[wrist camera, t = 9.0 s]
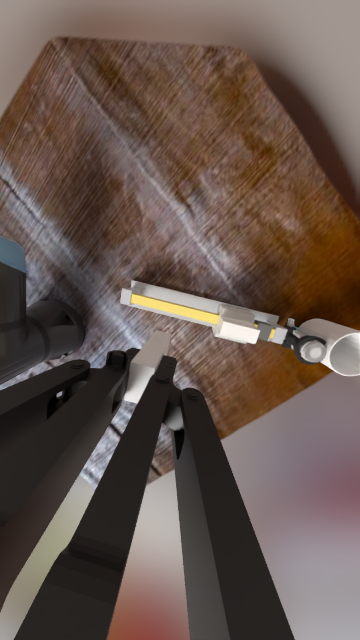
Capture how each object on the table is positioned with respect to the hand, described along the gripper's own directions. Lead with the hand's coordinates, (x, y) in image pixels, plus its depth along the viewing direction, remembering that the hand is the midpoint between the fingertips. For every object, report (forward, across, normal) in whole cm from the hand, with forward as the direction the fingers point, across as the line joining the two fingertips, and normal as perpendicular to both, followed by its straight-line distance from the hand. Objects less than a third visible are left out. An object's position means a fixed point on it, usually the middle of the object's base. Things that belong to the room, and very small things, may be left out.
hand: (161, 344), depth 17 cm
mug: (+24, +32, +1) cm, 41 cm away
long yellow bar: (+20, +5, 0) cm, 21 cm away
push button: (+24, +25, 0) cm, 35 cm away
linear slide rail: (+24, +4, 0) cm, 25 cm away
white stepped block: (+22, +11, 0) cm, 24 cm away
